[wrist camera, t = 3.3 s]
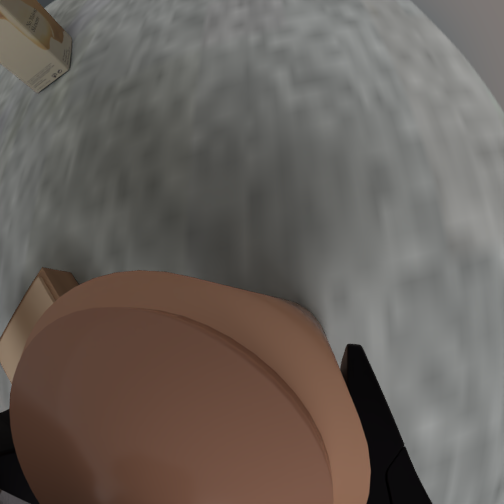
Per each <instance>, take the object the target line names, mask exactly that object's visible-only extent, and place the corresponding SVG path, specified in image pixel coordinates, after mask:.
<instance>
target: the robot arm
mask: <svg viewBox="0 0 504 504" xmlns="http://www.w3.org/2000/svg"><path fill="white" fill-rule="evenodd" d="M340 371H341V373H342V376H343V378H344V381H345V383H346V386H347V388H348V391H349V393H350V396H351V398H352V401H353V403H354V406H355V408H356V411H357V413H358V416H359V418H360V421H361V425H362V428H363V431H364V434H365V438H366V441H367V444H368V451H369V459H370V468H371V474H370V489H369V496H368V500H367V503H366V504H432V502H431V500H430V499H429V497H428V495H427V493H426V491H425V489H424V487H423V485H422V483H421V481H420V479H419V477H418V475H417V473H416V471H415V469H414V467H413V464H412V462H411V460H410V457H409V455H408V452H407V450H406V447H405V446H404V442H403V440H402V437H401V435H400V433H399V430H398V428H397V425H396V423H395V420H394V418H393V416H392V413H391V411H390V409H389V406H388V404H387V402H386V399H385V397H384V395H383V392H382V390H381V388H380V385H379V383H378V381H377V379H376V376H375V374H374V372H373V370H372V367H371V365H370V363H369V361H368V359H367V356H366V354H365V352H364V350H363V348H362V346H361V345H358V344H347V346H346V348H345V352H344V355H343V358H342V362H341V368H340ZM403 446H404V447H403ZM0 504H40V503H39V502H38V500H37V498H36V497H35V495H34V494H33V492H32V490H31V488H30V486H29V484H28V482H27V480H26V478H25V476H24V474H23V471H22V468H21V466H20V463H19V461H18V458H17V454H16V451H15V447H14V443H13V438H12V432H11V426H10V411H9V409H8V410H6V411H4V412H1V413H0Z"/></svg>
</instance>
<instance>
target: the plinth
mask: <svg viewBox="0 0 504 504" xmlns="http://www.w3.org/2000/svg"><path fill="white" fill-rule="evenodd" d="M78 285H79V284H78V283H77V281H76V280H75V278H74V277H73V275H72V274H71V273H70V272H65V271H59V270H54V269H49V268H43V267H42V268H41V270H40V271H39V273H38V275H37V276H36V278H35V279H34V281H33V282H32V284H31V286H30V287H29V289H28V290H27V292H26V294H25V295H24V297H23V299H22V300H21V302H20V304H19V305H18V307H17V309H16V311H15V312H14V314H13V316H12V318H11V319H10V321H9V323H8V325H7V327H6V328H5V330H4V332H3V334H2V336H1V338H0V363H1V365H2V367H3V369H4V371H5V373H6V374H7V376H8V378H9V380H10V382H11V384H12V381H13V377H14V374H15V371H16V368H17V365H18V362H19V360H20V358H21V355H22V352H23V349H24V346H25V344H26V341H27V339H28V337H29V335H30V333H31V331H32V329H33V328H34V326H35V324H36V323H37V321H38V320H39V319H40V317H41V316H42V315H43V313H44V312H45V311H46V310H47V309H48V308H49V307H50V306H51V305H52V304H53V303H54V302H55V301H56V300H57V299H58V298H59V297H61V296H62V295H64V294H65V293H67V292H68V291H70V290H71V289H73V288H74V287H76V286H78Z"/></svg>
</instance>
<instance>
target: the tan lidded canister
mask: <svg viewBox="0 0 504 504" xmlns="http://www.w3.org/2000/svg"><path fill="white" fill-rule="evenodd" d="M9 411H10V426H11V432H12V438H13V443H14V447H15V451H16V454H17V458H18V461H19V463H20V466H21V468H22V471H23V474H24V476H25V478H26V480H27V482H28V484H29V486H30V488H31V490H32V492H33V494H34V495H35V497H36V498H37V500H38V502H39V503H40V504H366V503H367V500H368V496H369V489H370V474H371V468H370V459H369V451H368V444H367V441H366V438H365V434H364V431H363V428H362V425H361V421H360V418H359V416H358V413H357V411H356V408H355V406H354V403H353V401H352V398H351V396H350V393H349V391H348V388H347V386H346V383H345V381H344V378H343V376H342V373H341V371H340V368H339V366H338V364H337V361H336V359H335V356H334V354H333V352H332V349H331V347H330V344H329V342H328V340H327V337H326V335H325V332H324V330H323V328H322V326H321V325H320V323H319V322H318V320H317V319H316V318H315V317H314V316H313V314H312V313H310V312H309V311H308V310H307V309H306V308H304V307H302V306H301V305H299V304H297V303H295V302H292V301H289V300H286V299H281V298H277V297H273V296H268V295H264V294H260V293H255V292H251V291H247V290H242V289H238V288H234V287H230V286H226V285H222V284H218V283H214V282H209V281H205V280H201V279H197V278H193V277H188V276H183V275H178V274H173V273H169V272H159V271H142V270H137V271H127V272H117V273H112V274H108V275H104V276H101V277H97V278H93V279H91V280H89V281H87V282H84V283H82V284H80V285H78V286H76V287H74V288H73V289H71V290H70V291H68V292H67V293H65V294H64V295H62V296H61V297H59V298H58V299H57V300H56V301H55V302H54V303H53V304H52V305H51V306H50V307H49V308H48V309H47V310H46V311H45V312H44V313H43V315H42V316H41V317H40V319H39V320H38V321H37V323H36V324H35V326H34V328H33V329H32V331H31V333H30V335H29V337H28V339H27V341H26V344H25V346H24V349H23V352H22V355H21V358H20V360H19V362H18V365H17V368H16V371H15V374H14V377H13V381H12V387H11V393H10V408H9Z"/></svg>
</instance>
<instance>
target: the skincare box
mask: <svg viewBox="0 0 504 504" xmlns="http://www.w3.org/2000/svg"><path fill="white" fill-rule="evenodd" d="M71 44H72V38H71V37H70V36H69V35H68V34H67V32H66V31H65V30H64V29H63V28H62V27H61V26H60V25H59V24H58V23H57V22H56V21H55V20H54V19H53V18H52V16H51V15H50V14H49V13H48V12H47V11H46V10H45V9H44V8H43V7H42V6H41V5H40V4H39V3H38V2H37V0H0V64H2V65H3V66H4V67H5V68H6V69H8V70H9V71H10V72H11V73H13V74H14V75H15V76H16V77H18V78H19V79H20V80H21V81H23V82H24V83H25V84H26V85H27V86H29V87H30V88H31V89H32V90H34V91H35V92H36V93H39V92H40V91H41V90H42V89H44V88H45V87H46V86H48V85H49V84H50V83H52V82H53V81H54V80H56V79H57V78H58V77H60V76H61V75H62V74H64V73H65V72H66V71H68V70H69V65H70V57H71Z"/></svg>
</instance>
